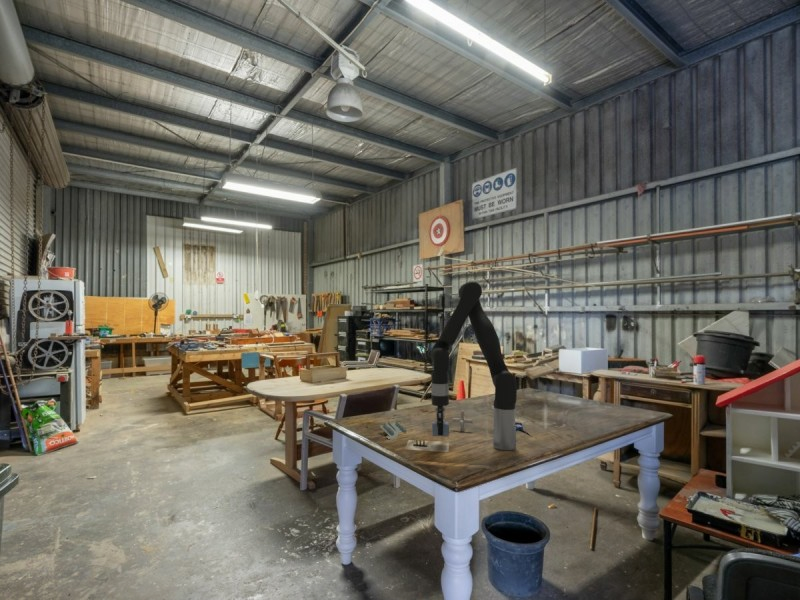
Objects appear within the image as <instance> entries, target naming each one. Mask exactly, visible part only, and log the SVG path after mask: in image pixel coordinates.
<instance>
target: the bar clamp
mask: <svg viewBox="0 0 800 600" xmlns="http://www.w3.org/2000/svg"><path fill="white" fill-rule="evenodd" d="M515 427H516V430H521V431H520V432H523V433H525V434H526V432H527V431H526V430H524V429H523V428H524V426H523V423H522V422H517V421H515Z"/></svg>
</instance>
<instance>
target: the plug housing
mask: <svg viewBox="0 0 800 600" xmlns="http://www.w3.org/2000/svg"><path fill="white" fill-rule="evenodd" d="M431 423H432V424H431V425H432V427H431V429H432V434H431V435H432V437H449V436H450V421H444V422H443V424H444V426H443V435H438V426H437V421H432V422H431ZM439 423H442V422H439Z"/></svg>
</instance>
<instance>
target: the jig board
mask: <svg viewBox="0 0 800 600" xmlns="http://www.w3.org/2000/svg"><path fill="white" fill-rule="evenodd" d="M406 443H407V444H406V446H405V447H404V450H408V451H421V452H422V451H424V452H426V451H427V452H437V453H439V452H440V453H449V447H450V446H449V445H450V442H448V441H434V440H426V439H423V440H422V439H413V440H412V439H408V440H407V442H406Z"/></svg>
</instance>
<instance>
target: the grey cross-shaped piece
mask: <svg viewBox="0 0 800 600" xmlns="http://www.w3.org/2000/svg"><path fill="white" fill-rule="evenodd" d="M451 421H452V422H456V423H458V425H459V426H460V432H465V424H473V423H474V420H473V419H468V418H466V417H465V410H460V418H457V417H456V418H455V417H452V420H451Z"/></svg>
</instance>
